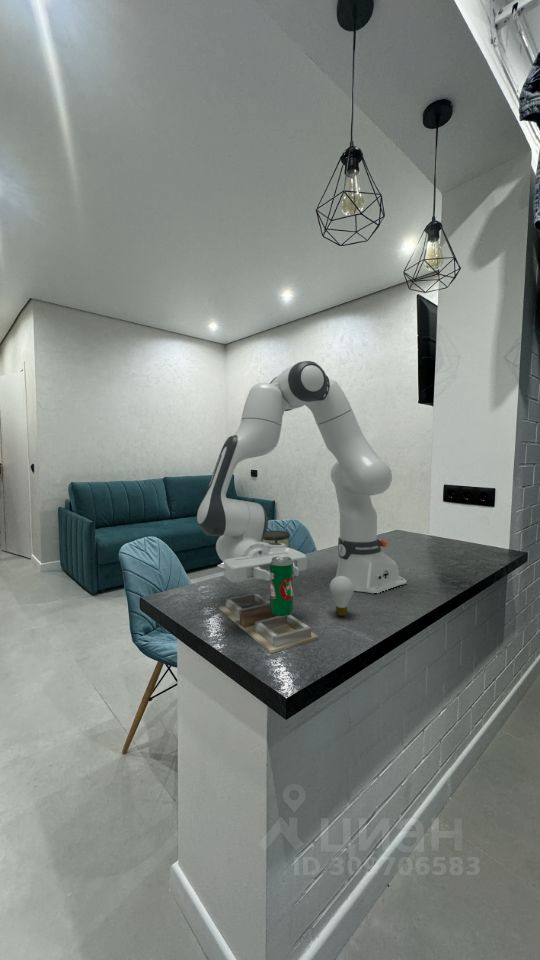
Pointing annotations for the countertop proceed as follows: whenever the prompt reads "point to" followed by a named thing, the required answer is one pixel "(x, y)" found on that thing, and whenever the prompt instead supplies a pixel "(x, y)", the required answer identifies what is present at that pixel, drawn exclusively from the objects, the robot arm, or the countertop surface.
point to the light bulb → (341, 593)
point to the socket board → (266, 623)
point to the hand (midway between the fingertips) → (284, 574)
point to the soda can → (281, 586)
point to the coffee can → (277, 537)
